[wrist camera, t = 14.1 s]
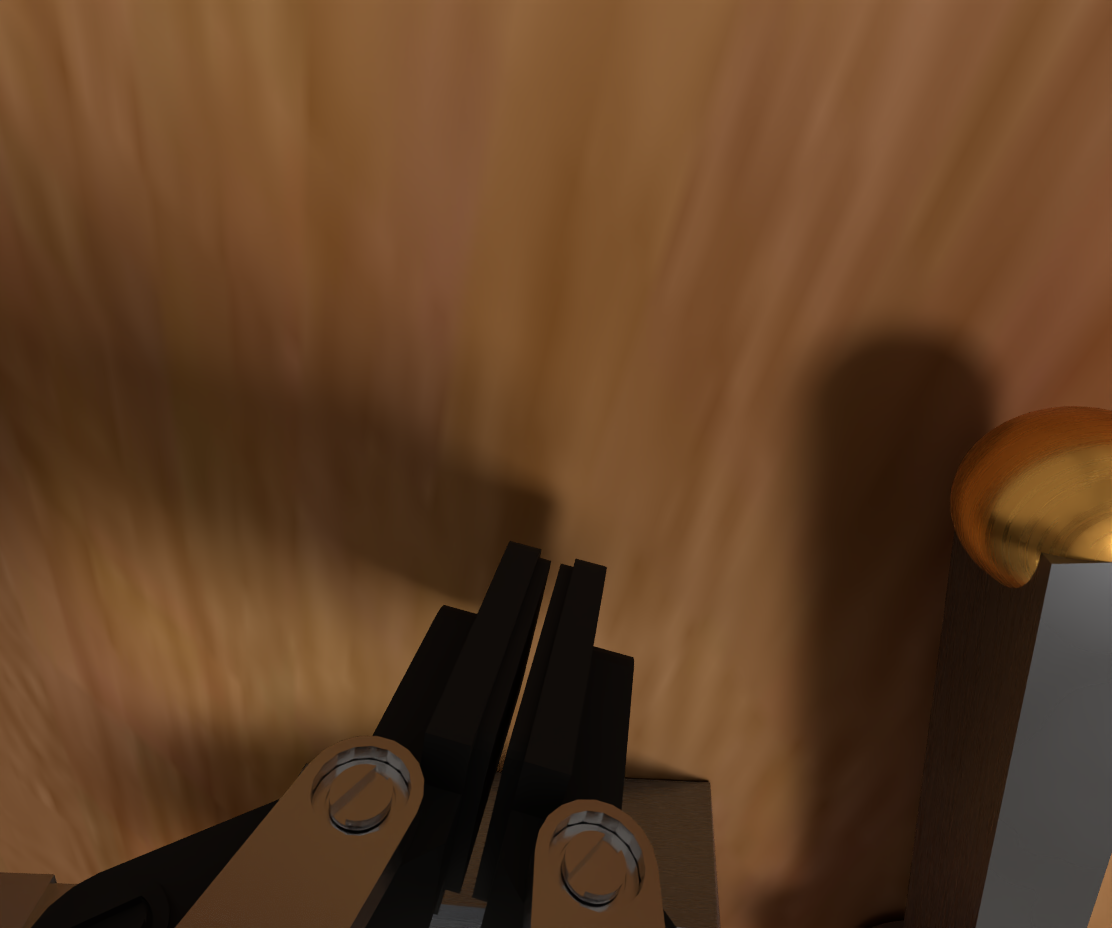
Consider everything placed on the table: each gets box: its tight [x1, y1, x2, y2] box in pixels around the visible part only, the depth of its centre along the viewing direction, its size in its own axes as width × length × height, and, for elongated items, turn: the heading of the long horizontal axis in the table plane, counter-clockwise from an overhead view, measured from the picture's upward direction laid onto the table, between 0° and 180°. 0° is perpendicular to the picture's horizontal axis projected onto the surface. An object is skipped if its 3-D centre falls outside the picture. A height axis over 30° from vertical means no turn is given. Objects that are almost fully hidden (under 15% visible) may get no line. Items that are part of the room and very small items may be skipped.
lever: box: [872, 406, 1112, 928], centre depth 11 cm, size 16×3×4 cm, turn 9°
